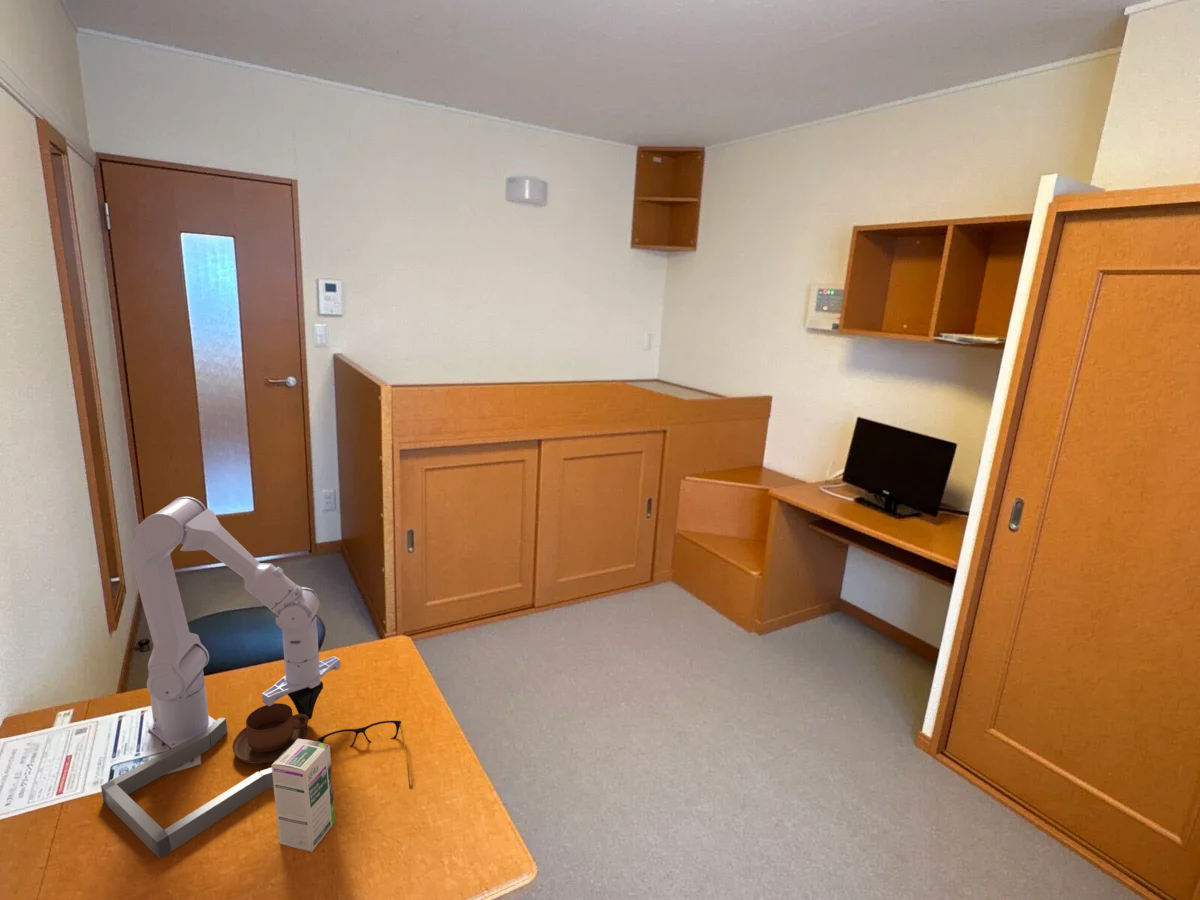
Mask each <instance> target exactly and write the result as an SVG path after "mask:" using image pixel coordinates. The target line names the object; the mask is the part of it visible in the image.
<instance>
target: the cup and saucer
mask: <svg viewBox="0 0 1200 900" xmlns="http://www.w3.org/2000/svg"><path fill="white" fill-rule="evenodd" d="M300 717H302V718H304V719H305V721H304V720H303V719H301V718H300ZM309 721H310V719H309V718H308V716H307V715H305V714H298V713H296V714H294V715H293V709H292V707H291V706H290V705H288V704H285V703H280V702H274V704H273V705H271V706H268V705H266V704H264V705H263V706H260V707H258V708H257V709H255V710H253V711H252V712H250V714H249V715H248V716H247V718H246V719H245V727H244V728H243V729H242V730H241V731H240V732H239V733H238V734H237V735H236V736H235V738H234V739H233V742H232V752H233V754H234V756H235V757H236V758H237V759H238V760H240V761H242V762H245V763H249V764H265V763H267V764H268V763H272V762H275V761H276V760H277V759H278V758H279V757H280V756H281V755H282V754H283V753H284V752H285V751H286V750H287V749H288V748H289V747H291V746H292V745H293V744H294V742H295V741H296V740H297V739H298V738H299V739H305V740H306V738H307V736H308V731H309V730H308V723H309Z"/></svg>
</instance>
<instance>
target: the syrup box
mask: <svg viewBox="0 0 1200 900" xmlns="http://www.w3.org/2000/svg"><path fill="white" fill-rule="evenodd" d="M330 752H331V746H330V745H329V744H327V743H324V742H323V743H320V742H317V740H316V741H315V740H311V739H306V738H305V739H299V738H298V739H297V740H296V741H295V742H294V744H293V745H292V746H291V747H289V748H288V749H287V750H286V751H285V752H284V753H283V754H282V755H281V756H280V757H279V758H278V759H277V760H275V761H273V763H272V764H271V767H272V775H273V785H274V787H273V794H274V803H275V812H276V813H275V814H276V820H277V821H276V822H277V824H276V825H277V833H278V841H279V844H281V845H284V846H287V847H289V848H290V847H291V848H295V849H298V850H302V851H306V852H311V853H312V852H314V850H315V848H316V847H317V846H318V845H319V843H320V842H321V841H322V840H323V838H324V837H325V836H326V834H327V833H328V832H329V831H330V830H331V828H332V827H333V825H334V824H335V823H336V812H335V801H334V785H333V772H332V756H331V753H330Z"/></svg>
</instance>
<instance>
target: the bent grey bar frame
mask: <svg viewBox="0 0 1200 900" xmlns="http://www.w3.org/2000/svg"><path fill="white" fill-rule="evenodd" d="M227 733H228V725H227V718H225V717H219V718H217V719H216V721H215V722H214V723H213V724H212V725H211V726H210V727H209V728H208V729H207V730H206V731H204V732H202V733H200V734H198V735H196V736H194V737H192V738H191V739H189V740H187V741H185V742H183V743H181V744H179V745H177V746H175V747H173V748H170V749H168V750H166V751H164V752H162V753H161V754H159V755H156V756H154V757H152V758H151V759H149V760H147V761H145V762H143V763H141V764H140V765H137V766H135V767H134V768H132V769H131V770H128V771H126V772H124V773H123V774H121V775H119V776H117V777H115V778H113V779H111V780H109V781H107V782H105V783H104V784H102V785H100V789H101V790H100V791H101V795H102V801H103V803H104V804H105V805H106V806H107V807H108V808H109V809H110V810H111V811H112V812H113V813H114V814H115V815H116V816H117V817H118V818H119V819H120V820H121V821H122V823H124V825H126V826H127V827H128V828H129V829H130V830H131V832H133V834H135V836H136V837H137V838H139V840H140V841H141V842H142V843H143V844H144V845H145V846H146V847H147V848H148V849H149V850H150V851H151V852H152V853H153V854H154V855H155V856H156V858H158V859H159V860H161V859H162V858H164V857H165V856H167V855H168V854H170V853H171V852H173V851H174V850H176V849H177V848H179V847H180V846H183V845H184V844H185V843H186V842H188V841H190V840H192V839H193V838H194V837H196V836H197V835H199V834H200V833H202V832H203V831H206V829H208V828H210V827H211V826H213V825H214V824H216V823H218V822H219V821H220V820H222V819H223V818H225V817H226V816H229V814H231V813H232V812H234V811H235V810H237V809H239V808H240V807H242V806H243V805H245V804H246V803H248V802H249V801H251V800H252V799H254V798H255V797H257V796H259V795H260V794H261V793H263V792H264V791H267V790H269V789H274V785H273V775H272V766H271V767H268V768H266V769H263V770H260V771H256V772H254V773H253V774H251V775H250V776H248V777H246V778H244V779H243V780H242V781H240V782H239V783H236V785H234V786H232V787H231V788H229V789H228V790H225V791H224V792H222V793H221V794H219V795H217V796H216V797H215V798H212V799H211V800H210V801H208V802H206V803H205V804H203V805H201V806H200V807H198V808H196V809H195V810H193V811H192V812H190V813H189V814H187V815H186V816H184V817H183V818H181V819H179V820H177V821H175V822H174V823H172V824H171V825H170V826H168V827H166V828H165V829H163V828H162V827H161V826H160V825H159V824H158V823H157V821H155V820H154V819H153V818H152V817H151V816H150V814H148V813H147V812H146V811H145V810H144V809H143V808H142V807H141V806H139V804H137V803H136V801H134V800H133V798H132V797H130V796H129V795H130V794H132V793H134V792H135V791H137V790H139V789H141V788H143V787H145V786H146V785H148V784H150V783H151V782H153V781H156V780H157V779H159V778H160V777H161V778H162V777H163V776H164V775H166V774H168V773H169V772H171V771H173V770H175V769H177V768H179V767H180V766H182V765H184V764H186V763H188V762H190V761H191V760H193V759H195V758H197V757H199V756H201V755H202V754H204V753H206V752H207V751H210V750H211V749H212V748H213V747H214V746H215V745H216V744H217V743H218V742H219V741H220V740H221V739H222V738H223V737H224V736H225V735H226V734H227Z"/></svg>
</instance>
